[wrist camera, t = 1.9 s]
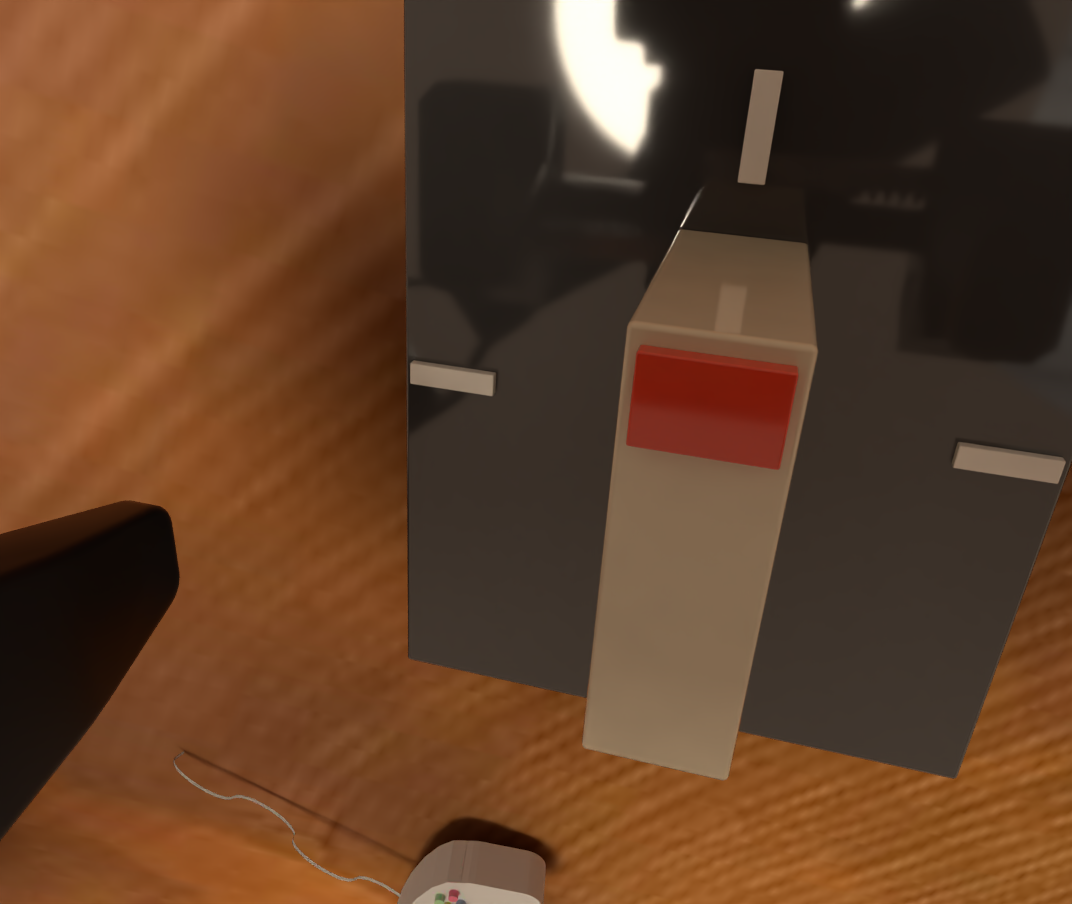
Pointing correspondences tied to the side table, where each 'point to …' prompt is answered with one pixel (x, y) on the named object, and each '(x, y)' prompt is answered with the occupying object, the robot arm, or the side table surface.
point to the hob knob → (698, 496)
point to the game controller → (459, 872)
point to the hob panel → (840, 313)
